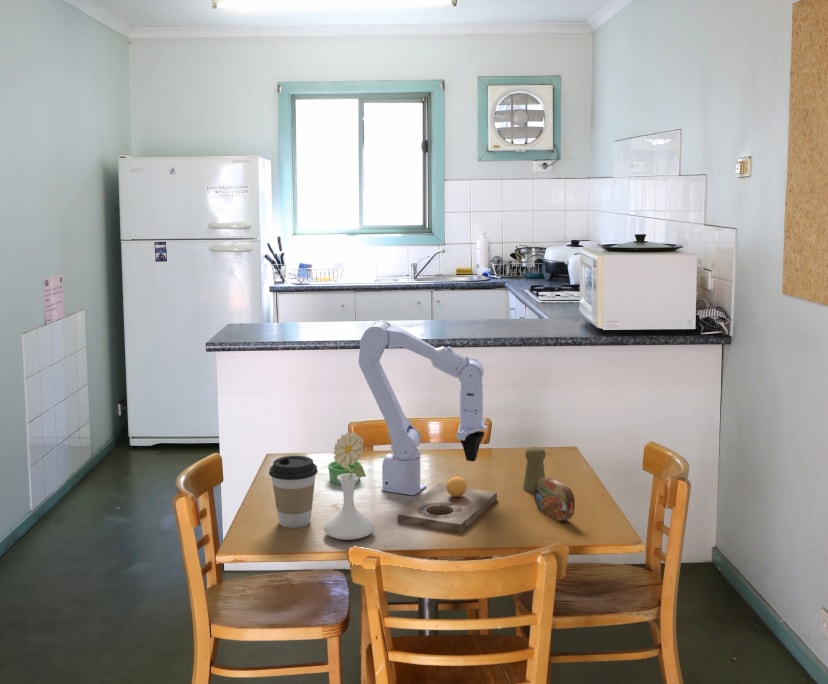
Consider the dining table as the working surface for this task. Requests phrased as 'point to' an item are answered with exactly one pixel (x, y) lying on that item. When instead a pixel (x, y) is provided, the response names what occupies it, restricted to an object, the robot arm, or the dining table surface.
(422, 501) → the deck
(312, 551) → the dining table surface
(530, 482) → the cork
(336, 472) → the ramekin
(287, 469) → the coffee cup
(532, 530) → the dining table surface
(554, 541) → the dining table surface
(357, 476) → the flower in vase
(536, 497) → the tin
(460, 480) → the ball
